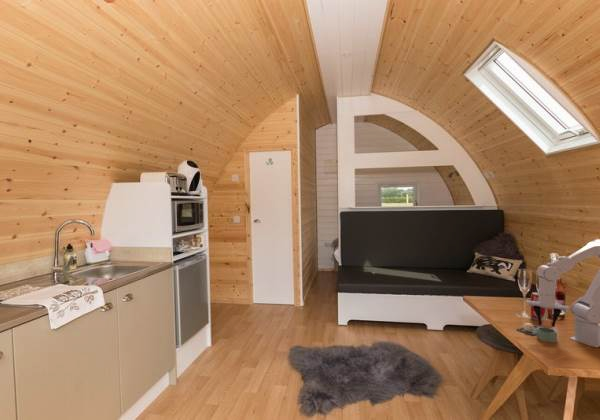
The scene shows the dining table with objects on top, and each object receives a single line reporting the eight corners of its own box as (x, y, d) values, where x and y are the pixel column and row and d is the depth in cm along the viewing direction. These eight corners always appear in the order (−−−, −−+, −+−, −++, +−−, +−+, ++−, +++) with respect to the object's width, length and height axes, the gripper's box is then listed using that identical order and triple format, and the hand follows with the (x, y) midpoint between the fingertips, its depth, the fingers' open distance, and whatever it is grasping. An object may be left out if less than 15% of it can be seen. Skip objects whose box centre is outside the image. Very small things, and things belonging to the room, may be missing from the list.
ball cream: (536, 332, 148) (536, 323, 148) (530, 334, 146) (530, 325, 146) (526, 329, 152) (526, 320, 152) (521, 330, 150) (521, 322, 150)
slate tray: (548, 331, 150) (548, 329, 150) (532, 336, 145) (532, 334, 145) (532, 326, 156) (532, 324, 156) (516, 330, 151) (516, 328, 151)
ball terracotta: (552, 327, 142) (552, 318, 142) (552, 330, 138) (552, 321, 138) (540, 325, 144) (541, 316, 144) (540, 328, 141) (541, 319, 141)
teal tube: (560, 341, 140) (560, 331, 140) (550, 344, 137) (550, 334, 137) (542, 335, 146) (542, 325, 146) (533, 338, 143) (533, 328, 143)
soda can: (531, 320, 164) (531, 294, 164) (529, 315, 170) (529, 291, 170) (549, 322, 161) (549, 296, 160) (546, 318, 167) (546, 292, 167)
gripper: (568, 294, 140) (568, 325, 140) (527, 289, 148) (526, 318, 149) (569, 298, 134) (568, 331, 134) (526, 292, 143) (525, 323, 143)
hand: (546, 324), depth 141 cm, fingers closed on ball terracotta, 4 cm apart
